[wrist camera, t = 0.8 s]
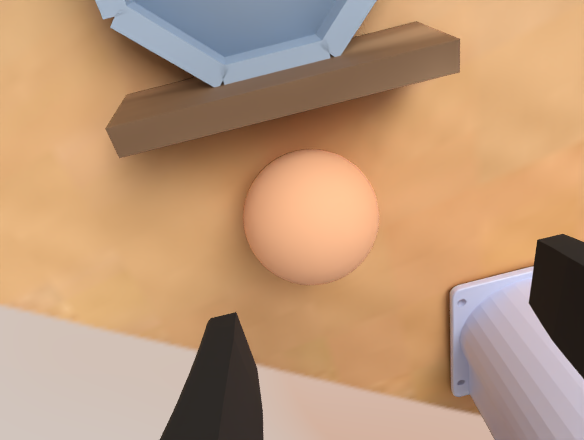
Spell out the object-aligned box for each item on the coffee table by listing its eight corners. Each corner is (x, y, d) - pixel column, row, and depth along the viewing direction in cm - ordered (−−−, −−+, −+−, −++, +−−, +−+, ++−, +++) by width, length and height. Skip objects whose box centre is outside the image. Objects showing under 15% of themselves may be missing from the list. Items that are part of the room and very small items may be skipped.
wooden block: (418, 49, 17) (459, 72, 14) (137, 120, 17) (119, 158, 14) (416, 21, 16) (459, 39, 13) (126, 94, 16) (105, 128, 13)
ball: (365, 220, 21) (403, 294, 16) (257, 247, 21) (267, 328, 16) (350, 115, 18) (392, 171, 13) (225, 146, 18) (227, 213, 13)
